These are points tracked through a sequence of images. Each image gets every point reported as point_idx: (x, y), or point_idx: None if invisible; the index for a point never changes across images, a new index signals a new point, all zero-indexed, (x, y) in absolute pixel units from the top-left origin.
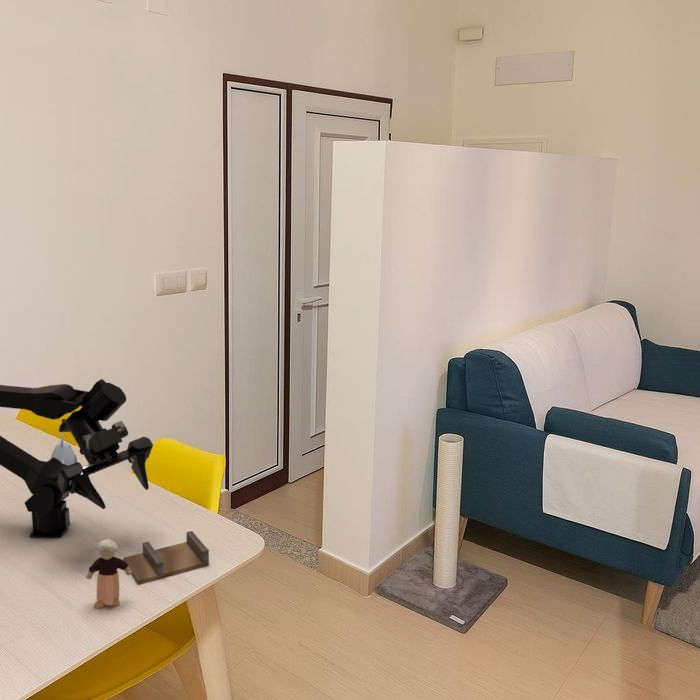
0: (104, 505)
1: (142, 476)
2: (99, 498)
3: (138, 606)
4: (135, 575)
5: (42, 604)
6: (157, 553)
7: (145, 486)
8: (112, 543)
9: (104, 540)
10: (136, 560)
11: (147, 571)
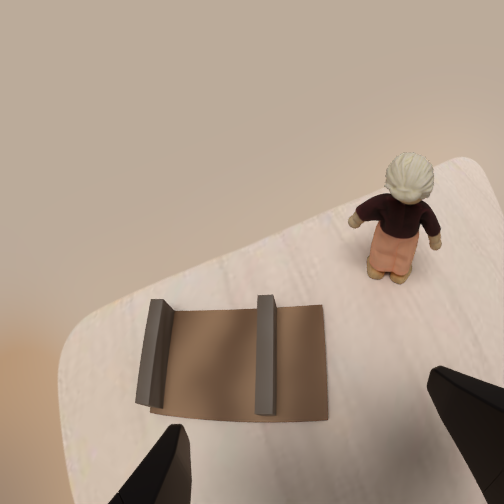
0: (437, 368)
1: (163, 475)
2: (469, 382)
3: (336, 241)
4: (321, 327)
5: (488, 307)
6: (242, 401)
7: (183, 438)
8: (400, 158)
9: (422, 161)
10: (300, 392)
11: (292, 332)
